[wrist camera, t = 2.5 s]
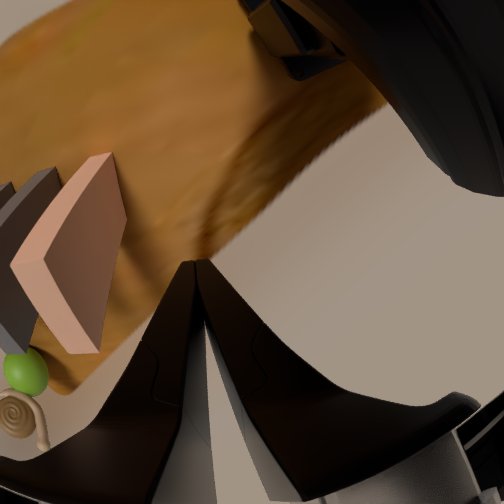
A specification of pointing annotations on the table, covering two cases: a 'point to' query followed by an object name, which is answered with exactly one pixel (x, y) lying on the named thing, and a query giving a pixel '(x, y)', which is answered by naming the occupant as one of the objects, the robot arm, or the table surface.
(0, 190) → the domino
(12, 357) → the snail figurine
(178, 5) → the table surface
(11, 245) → the domino
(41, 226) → the domino
